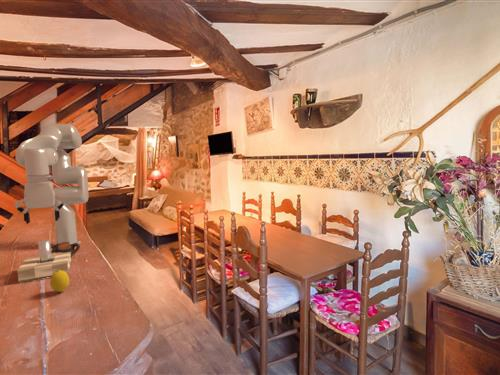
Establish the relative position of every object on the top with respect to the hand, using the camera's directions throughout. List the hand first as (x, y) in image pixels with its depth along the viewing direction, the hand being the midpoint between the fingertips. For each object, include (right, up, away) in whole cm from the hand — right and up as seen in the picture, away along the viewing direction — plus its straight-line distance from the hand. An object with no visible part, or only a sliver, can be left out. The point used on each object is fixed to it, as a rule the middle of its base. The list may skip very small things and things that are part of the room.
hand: (42, 221), depth 121 cm
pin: (+1, -20, +2) cm, 20 cm away
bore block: (+1, -21, +2) cm, 21 cm away
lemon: (+18, -23, -17) cm, 34 cm away
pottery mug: (-4, -19, +21) cm, 29 cm away
